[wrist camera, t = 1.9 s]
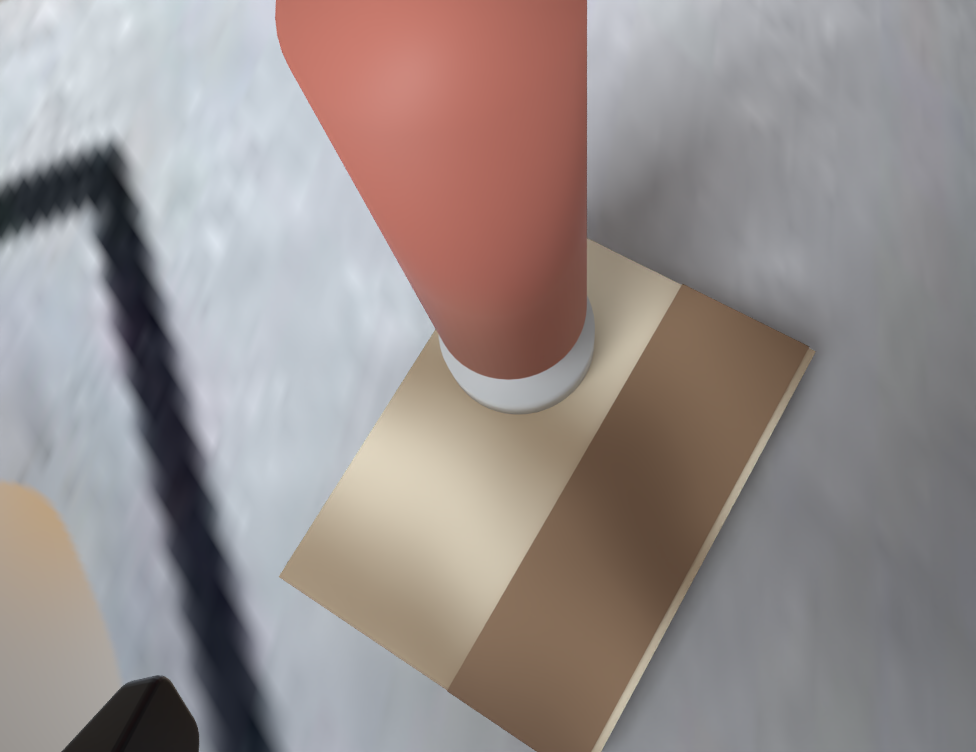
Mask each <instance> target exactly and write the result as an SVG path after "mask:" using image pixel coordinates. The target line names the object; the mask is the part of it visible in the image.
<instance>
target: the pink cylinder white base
mask: <svg viewBox="0 0 976 752" xmlns="http://www.w3.org/2000/svg"><path fill="white" fill-rule="evenodd" d="M275 20H276V28H277V36H278V39H279V43H280V47H281V50H282V53H283V55H284V57H285V59H286V62H287V64H288V66H289V68H290V70H291V71H292V73H293V75H294V77H295V79H296V80H297V82H298V84H299V86H300V88H301V89H302V91H303V93H304V95H305V96H306V98H307V100H308V102H309V104H310V105H311V107H312V109H313V111H314V113H315V114H316V116H317V118H318V120H319V121H320V123H321V125H322V127H323V129H324V130H325V132H326V134H327V136H328V138H329V139H330V141H331V143H332V145H333V146H334V148H335V150H336V152H337V154H338V155H339V157H340V159H341V161H342V163H343V164H344V166H345V168H346V170H347V172H348V173H349V175H350V177H351V179H352V180H353V182H354V184H355V186H356V188H357V189H358V191H359V193H360V195H361V197H362V198H363V200H364V202H365V204H366V205H367V207H368V209H369V211H370V213H371V214H372V216H373V218H374V220H375V222H376V223H377V225H378V227H379V229H380V230H381V232H382V234H383V236H384V238H385V239H386V241H387V243H388V245H389V247H390V248H391V250H392V252H393V254H394V255H395V257H396V259H397V261H398V263H399V264H400V266H401V268H402V270H403V272H404V273H405V275H406V277H407V279H408V280H409V282H410V284H411V286H412V288H413V289H414V291H415V293H416V295H417V297H418V298H419V300H420V302H421V304H422V305H423V307H424V309H425V311H426V313H427V314H428V316H429V318H430V320H431V322H432V323H433V325H434V327H435V329H436V330H437V332H438V334H439V343H440V348H441V352H442V355H443V358H444V360H445V362H446V364H447V366H448V368H449V370H450V371H451V373H452V375H453V376H454V378H455V380H456V381H457V383H458V384H459V386H460V387H461V388H462V389H463V390H464V392H465V393H466V394H467V395H469V396H470V397H471V398H472V399H473V400H475V401H476V402H478V403H479V404H481V405H483V406H485V407H487V408H489V409H491V410H494V411H497V412H501V413H506V414H518V415H519V414H530V413H536V412H540V411H543V410H546V409H548V408H550V407H553V406H555V405H557V404H558V403H560V402H561V401H563V400H564V399H566V398H567V397H568V396H569V395H570V394H572V393H573V392H574V390H575V389H576V388H577V387H578V386H579V385H580V383H581V382H582V380H583V379H584V377H585V376H586V374H587V372H588V370H589V367H590V364H591V361H592V357H593V352H594V339H595V322H594V314H593V310H592V306H591V303H590V301H589V298H588V296H587V0H276V14H275Z"/></svg>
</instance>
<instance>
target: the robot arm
mask: <svg viewBox="0 0 976 752" xmlns="http://www.w3.org/2000/svg"><path fill="white" fill-rule="evenodd" d="M62 752H199V732H198V727H197V724H196V722H195V720H194V718H193V716H192V715H191V713H190V711H189V710H188V708H187V706H186V705H185V703H184V702H183V700H182V698H181V697H180V695H179V694H178V692H177V690H176V689H175V687H174V685H173V684H172V682H171V681H170V680H169V679H168V678H166V677H165V676H159V675H157V676H152V677H148V678H143V679H139V680H134V681H131V682H128V683H126V684H125V685H123V686H122V687H121V688H120V689H119V690H118V691H117V692H116V693H115V695H114V696H113V697H112V698H111V699H110V700H109V701H108V702H107V703H106V704H105V705H104V706H103V708H102V709H101V710H100V711H99V712H98V713H97V714H96V715H95V716H94V717H93V719H92V720H91V721H90V722H89V723H88V724H87V725H86V726H85V727H84V728H83V729H82V730H81V731H80V732H79V734H78V735H77V736H76V737H75V738H74V739H73V740H72V741H71V742H70V743H69V744H68V745H67V746H66V748H65V749H64V750H63V751H62Z"/></svg>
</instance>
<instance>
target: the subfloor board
mask: <svg viewBox="0 0 976 752" xmlns="http://www.w3.org/2000/svg"><path fill="white" fill-rule="evenodd" d="M587 296H588V298H589V301H590V303H591V306H592V310H593V314H594V322H595V339H594V352H593V357H592V361H591V364H590V367H589V370H588V372H587V374H586V376H585V377H584V379H583V380H582V382H581V383H580V385H579V386H578V387H577V388H576V389H575V390H574V392H573V393H572V394H570V395H569V396H568V397H567V398H566V399H564V400H563V401H561V402H560V403H558V404H557V405H555V406H553V407H550V408H548V409H546V410H543V411H540V412H536V413H530V414H519V415H518V414H506V413H501V412H497V411H494V410H491V409H489V408H487V407H485V406H483V405H481V404H479V403H478V402H476V401H475V400H473V399H472V398H471V397H470V396H469V395H467V394H466V393H465V392H464V390H463V389H462V388H461V387H460V386H459V384H458V383H457V381H456V380H455V378H454V376H453V375H452V373H451V371H450V370H449V368H448V366H447V364H446V362H445V360H444V358H443V355H442V352H441V348H440V343H439V334H438V332H437V330H436V329H435V331H434V333H433V334H432V336H431V337H430V339H429V340H428V342H427V344H426V345H425V347H424V348H423V350H422V352H421V353H420V355H419V356H418V358H417V359H416V361H415V363H414V364H413V366H412V367H411V369H410V370H409V372H408V374H407V375H406V377H405V378H404V380H403V382H402V383H401V385H400V386H399V388H398V389H397V391H396V393H395V394H394V396H393V397H392V399H391V400H390V402H389V404H388V405H387V407H386V408H385V410H384V411H383V413H382V415H381V416H380V418H379V419H378V421H377V423H376V424H375V426H374V427H373V429H372V430H371V432H370V434H369V435H368V437H367V438H366V440H365V441H364V443H363V445H362V446H361V448H360V449H359V451H358V453H357V454H356V456H355V457H354V459H353V460H352V462H351V464H350V465H349V467H348V468H347V470H346V471H345V473H344V475H343V476H342V478H341V479H340V481H339V482H338V484H337V486H336V487H335V489H334V490H333V492H332V494H331V495H330V497H329V498H328V500H327V501H326V503H325V505H324V506H323V508H322V509H321V511H320V512H319V514H318V516H317V517H316V519H315V520H314V522H313V524H312V525H311V527H310V528H309V530H308V531H307V533H306V535H305V536H304V538H303V539H302V541H301V542H300V544H299V546H298V547H297V549H296V550H295V552H294V554H293V555H292V557H291V558H290V560H289V561H288V563H287V565H286V566H285V568H284V569H283V571H282V572H281V574H280V576H279V577H280V578H281V579H283V580H284V581H286V582H287V583H289V584H290V585H292V586H293V587H295V588H296V589H298V590H299V591H301V592H302V593H304V594H305V595H307V596H308V597H309V598H311V599H312V600H314V601H315V602H317V603H318V604H320V605H321V606H323V607H324V608H326V609H327V610H329V611H330V612H332V613H333V614H335V615H336V616H338V617H339V618H341V619H342V620H344V621H345V622H347V623H348V624H350V625H351V626H353V627H354V628H355V629H357V630H358V631H360V632H361V633H363V634H364V635H366V636H367V637H369V638H370V639H372V640H373V641H375V642H376V643H378V644H379V645H381V646H382V647H384V648H385V649H387V650H388V651H390V652H391V653H393V654H394V655H396V656H397V657H399V658H400V659H401V660H403V661H404V662H406V663H407V664H409V665H410V666H412V667H413V668H415V669H416V670H418V671H419V672H421V673H422V674H424V675H425V676H427V677H428V678H430V679H431V680H433V681H434V682H436V683H437V684H439V685H440V686H442V687H443V688H445V689H446V690H447V691H448V692H449V693H451V694H452V695H454V696H455V697H457V698H458V699H459V700H461V701H462V702H464V703H465V704H467V705H468V706H470V707H471V708H473V709H474V710H476V711H477V712H479V713H480V714H482V715H483V716H485V717H486V718H488V719H489V720H491V721H492V722H494V723H495V724H497V725H498V726H500V727H501V728H503V729H504V730H505V731H507V732H508V733H510V734H511V735H513V736H514V737H516V738H517V739H519V740H520V741H522V742H523V743H525V744H526V745H528V746H529V747H531V748H532V749H534V750H535V751H537V752H601V751H602V749H603V747H604V745H605V743H606V742H607V740H608V738H609V736H610V734H611V732H612V730H613V729H614V727H615V725H616V723H617V721H618V719H619V717H620V715H621V714H622V712H623V710H624V708H625V706H626V704H627V702H628V701H629V699H630V697H631V695H632V693H633V691H634V689H635V688H636V686H637V684H638V682H639V680H640V678H641V676H642V674H643V673H644V671H645V669H646V667H647V665H648V663H649V661H650V660H651V658H652V656H653V654H654V652H655V650H656V648H657V647H658V645H659V643H660V641H661V639H662V637H663V635H664V633H665V632H666V630H667V628H668V626H669V624H670V622H671V620H672V619H673V617H674V615H675V613H676V611H677V609H678V607H679V606H680V604H681V602H682V600H683V598H684V596H685V594H686V592H687V591H688V589H689V587H690V585H691V583H692V581H693V579H694V578H695V576H696V574H697V572H698V570H699V568H700V566H701V564H702V563H703V561H704V559H705V557H706V555H707V553H708V551H709V550H710V548H711V546H712V544H713V542H714V540H715V538H716V537H717V535H718V533H719V531H720V529H721V527H722V525H723V523H724V522H725V520H726V518H727V516H728V514H729V512H730V510H731V509H732V507H733V505H734V503H735V501H736V499H737V497H738V496H739V494H740V492H741V490H742V488H743V486H744V484H745V482H746V481H747V479H748V477H749V475H750V473H751V471H752V469H753V468H754V466H755V464H756V462H757V460H758V458H759V456H760V455H761V453H762V451H763V449H764V447H765V445H766V443H767V441H768V440H769V438H770V436H771V434H772V432H773V430H774V428H775V427H776V425H777V423H778V421H779V419H780V417H781V415H782V413H783V412H784V410H785V408H786V406H787V404H788V402H789V400H790V399H791V397H792V395H793V393H794V391H795V389H796V387H797V386H798V384H799V382H800V380H801V378H802V376H803V374H804V372H805V371H806V369H807V367H808V365H809V363H810V361H811V359H812V358H813V356H814V354H815V352H816V351H814V350H812V349H810V348H809V346H807V345H805V344H803V343H801V342H799V341H797V340H795V339H793V338H791V337H789V336H787V335H785V334H783V333H781V332H779V331H777V330H775V329H773V328H771V327H769V326H767V325H765V324H763V323H761V322H759V321H757V320H755V319H753V318H751V317H749V316H747V315H745V314H743V313H740V312H738V311H736V310H734V309H732V308H730V307H728V306H726V305H724V304H722V303H720V302H718V301H716V300H714V299H712V298H710V297H708V296H706V295H704V294H702V293H700V292H698V291H696V290H694V289H692V288H690V287H688V286H686V285H684V284H682V285H681V284H679V283H677V282H675V281H673V280H671V279H669V278H667V277H665V276H663V275H661V274H659V273H657V272H655V271H653V270H651V269H648V268H646V267H644V266H642V265H640V264H638V263H636V262H634V261H632V260H630V259H628V258H626V257H624V256H622V255H620V254H618V253H616V252H614V251H612V250H610V249H608V248H606V247H604V246H602V245H600V244H598V243H596V242H594V241H592V240H590V239H588V238H587Z"/></svg>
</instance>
